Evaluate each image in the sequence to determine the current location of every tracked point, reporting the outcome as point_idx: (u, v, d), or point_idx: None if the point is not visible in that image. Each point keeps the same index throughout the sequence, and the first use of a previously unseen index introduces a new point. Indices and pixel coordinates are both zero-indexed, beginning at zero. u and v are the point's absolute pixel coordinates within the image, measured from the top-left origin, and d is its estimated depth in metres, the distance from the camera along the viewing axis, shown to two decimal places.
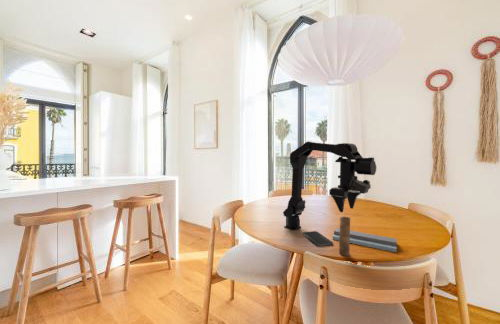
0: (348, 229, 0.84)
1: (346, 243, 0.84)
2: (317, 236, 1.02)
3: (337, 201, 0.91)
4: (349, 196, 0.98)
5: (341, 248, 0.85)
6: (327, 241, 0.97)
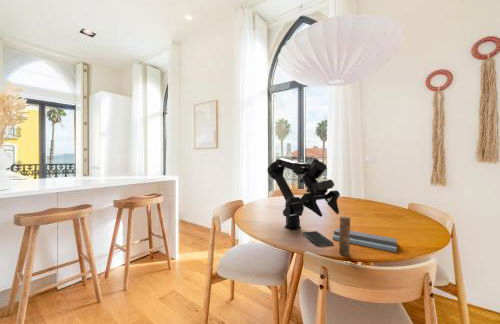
0: (348, 229, 0.84)
1: (346, 243, 0.84)
2: (317, 236, 1.02)
3: (312, 208, 0.93)
4: (330, 204, 0.98)
5: (341, 248, 0.85)
6: (327, 241, 0.97)
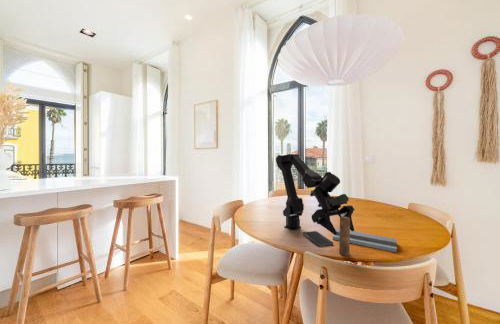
0: (348, 229, 0.84)
1: (346, 243, 0.84)
2: (317, 236, 1.02)
3: (325, 225, 0.87)
4: None
5: (341, 248, 0.85)
6: (327, 241, 0.97)
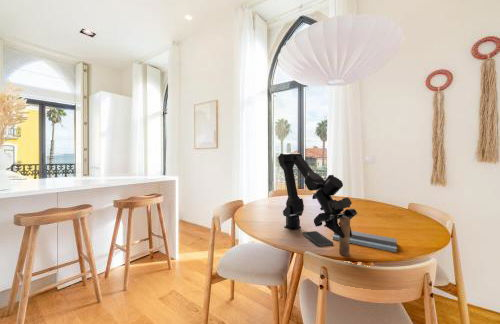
0: (348, 229, 0.84)
1: (346, 243, 0.84)
2: (317, 236, 1.02)
3: (333, 228, 0.87)
4: None
5: (341, 248, 0.85)
6: (327, 241, 0.97)
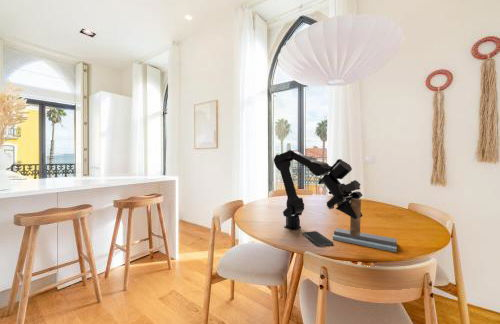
0: (360, 210, 0.87)
1: (358, 224, 0.87)
2: (317, 236, 1.02)
3: (345, 210, 0.89)
4: None
5: (353, 229, 0.88)
6: (327, 241, 0.97)
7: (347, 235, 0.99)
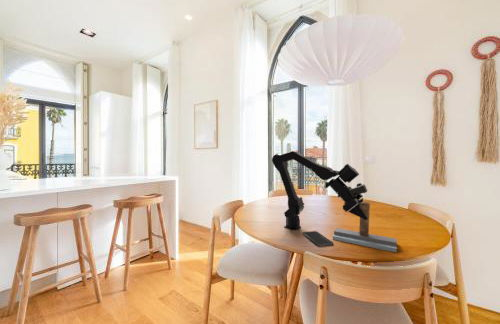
0: None
1: (368, 225, 0.96)
2: (317, 236, 1.02)
3: (356, 213, 0.94)
4: None
5: (364, 230, 0.96)
6: (327, 241, 0.97)
7: (347, 235, 0.99)
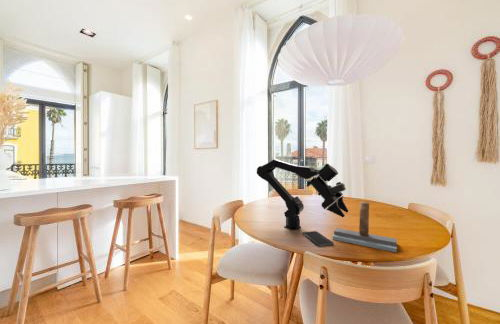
0: (368, 212, 0.97)
1: (368, 225, 0.96)
2: (317, 236, 1.02)
3: (334, 210, 0.99)
4: (338, 204, 1.08)
5: (363, 230, 0.96)
6: (327, 241, 0.97)
7: (347, 235, 0.99)
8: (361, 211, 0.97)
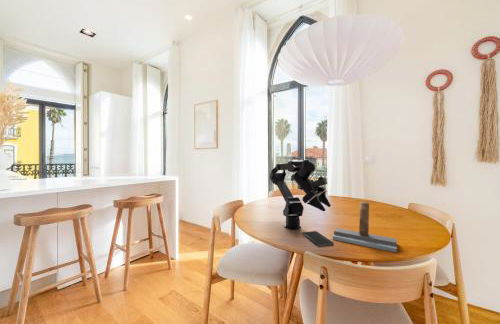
0: (368, 212, 0.97)
1: (368, 225, 0.96)
2: (317, 236, 1.02)
3: (315, 204, 0.98)
4: (320, 199, 1.08)
5: (363, 230, 0.96)
6: (327, 241, 0.97)
7: (347, 235, 0.99)
8: (361, 211, 0.97)
